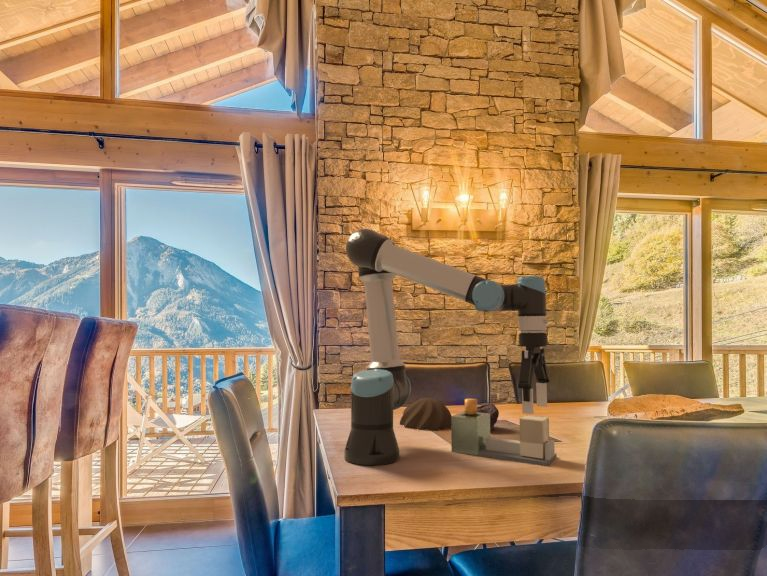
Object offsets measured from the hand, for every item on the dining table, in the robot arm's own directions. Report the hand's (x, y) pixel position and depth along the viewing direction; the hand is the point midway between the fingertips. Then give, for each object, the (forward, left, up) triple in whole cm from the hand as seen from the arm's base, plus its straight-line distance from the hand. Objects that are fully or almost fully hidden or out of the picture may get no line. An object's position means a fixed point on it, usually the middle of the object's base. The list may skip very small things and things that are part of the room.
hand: (535, 409), depth 137 cm
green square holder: (0, +19, -13) cm, 23 cm away
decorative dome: (+25, +47, -14) cm, 55 cm away
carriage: (0, 0, -12) cm, 12 cm away
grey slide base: (0, +5, -13) cm, 14 cm away
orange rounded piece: (0, +19, -3) cm, 19 cm away
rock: (+29, +26, -14) cm, 41 cm away
